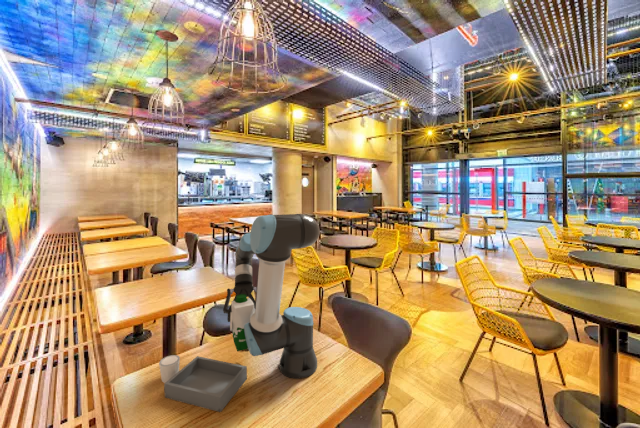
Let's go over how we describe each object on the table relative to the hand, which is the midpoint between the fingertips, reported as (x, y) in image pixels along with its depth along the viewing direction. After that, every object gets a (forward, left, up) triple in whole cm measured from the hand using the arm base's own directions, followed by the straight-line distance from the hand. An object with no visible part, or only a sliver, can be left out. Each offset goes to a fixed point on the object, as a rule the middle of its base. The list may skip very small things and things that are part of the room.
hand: (243, 328), depth 108 cm
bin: (+6, +14, -16) cm, 22 cm away
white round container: (+23, +14, -16) cm, 31 cm away
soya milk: (+2, -3, -9) cm, 9 cm away
